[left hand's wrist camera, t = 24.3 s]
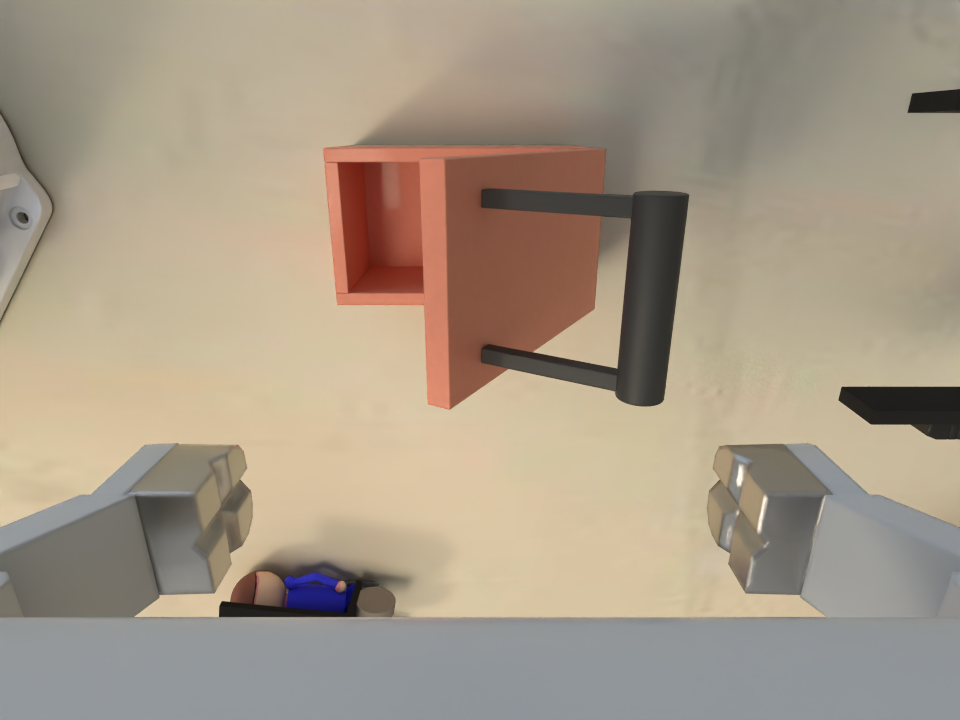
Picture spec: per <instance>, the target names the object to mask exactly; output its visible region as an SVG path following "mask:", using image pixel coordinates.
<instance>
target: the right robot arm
mask: <svg viewBox="0 0 960 720" xmlns="http://www.w3.org/2000/svg"><path fill="white" fill-rule="evenodd" d="M908 113H960V89H957V90H946V91H935V92H924V93H913V94H912V97H911V101H910V105H909V109H908ZM839 401H840V402H842V403H843V404H844V405H846V406H847V407H848V408H850V409H851V410H852V411H854V412H855V413H856V414H858V415H859V416H860V417H862V418H863V419H864V420H866V421H867V422H868V423H870V424H911V425H912V426H914V427H915V428H916V429H918V430H919V431H921V432H922V433H924V434H925V435H927V436H929V437H932V438H934V439H960V387H842V388H841V392H840V396H839Z"/></svg>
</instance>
